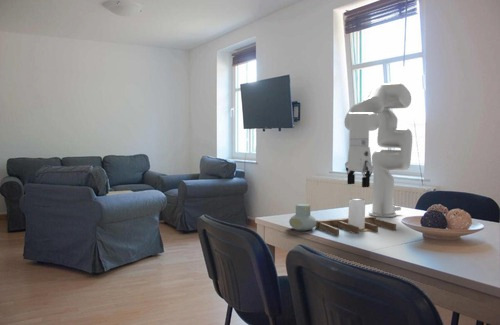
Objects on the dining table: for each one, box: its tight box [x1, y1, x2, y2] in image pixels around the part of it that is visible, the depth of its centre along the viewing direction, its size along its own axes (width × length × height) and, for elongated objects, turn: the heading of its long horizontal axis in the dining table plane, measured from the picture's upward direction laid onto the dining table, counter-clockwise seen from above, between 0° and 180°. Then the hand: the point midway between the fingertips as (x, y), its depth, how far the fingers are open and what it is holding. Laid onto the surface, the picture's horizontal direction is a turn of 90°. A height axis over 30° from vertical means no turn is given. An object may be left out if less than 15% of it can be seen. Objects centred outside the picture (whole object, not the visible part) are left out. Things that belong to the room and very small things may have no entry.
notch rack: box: [314, 215, 397, 237], centre depth 165 cm, size 29×15×3 cm, turn 111°
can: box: [347, 197, 366, 230], centre depth 165 cm, size 6×6×12 cm
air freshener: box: [288, 203, 316, 232], centre depth 163 cm, size 11×8×10 cm
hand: (358, 185), depth 164 cm, fingers open, 9 cm apart
